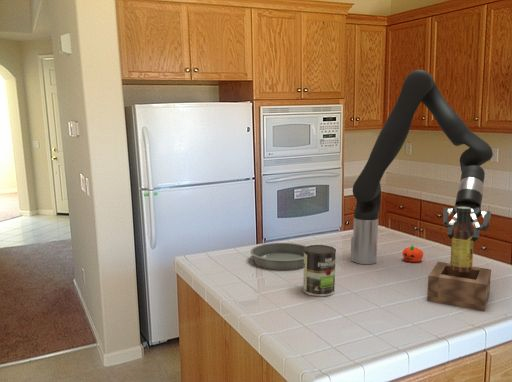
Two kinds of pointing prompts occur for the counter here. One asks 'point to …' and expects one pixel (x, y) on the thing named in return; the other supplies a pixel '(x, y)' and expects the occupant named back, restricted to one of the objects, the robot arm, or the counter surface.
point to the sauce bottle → (462, 242)
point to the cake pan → (279, 256)
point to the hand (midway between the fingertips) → (462, 238)
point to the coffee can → (319, 270)
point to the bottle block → (459, 286)
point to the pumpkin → (412, 254)
